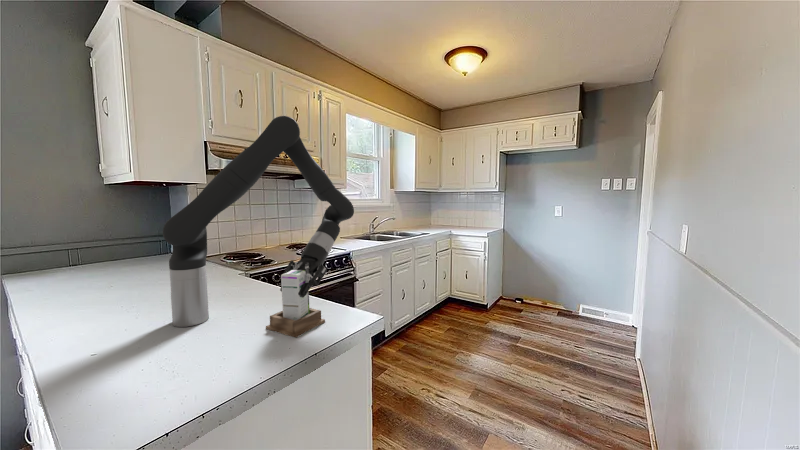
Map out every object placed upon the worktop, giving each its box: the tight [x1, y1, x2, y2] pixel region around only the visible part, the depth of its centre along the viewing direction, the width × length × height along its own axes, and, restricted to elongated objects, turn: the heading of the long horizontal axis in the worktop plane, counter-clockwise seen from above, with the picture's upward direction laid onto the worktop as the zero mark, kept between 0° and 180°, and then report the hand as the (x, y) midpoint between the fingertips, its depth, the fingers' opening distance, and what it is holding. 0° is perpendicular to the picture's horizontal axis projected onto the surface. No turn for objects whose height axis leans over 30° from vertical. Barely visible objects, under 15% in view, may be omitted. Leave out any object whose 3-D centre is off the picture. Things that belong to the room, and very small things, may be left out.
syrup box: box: [280, 270, 310, 321], centre depth 91 cm, size 6×6×14 cm
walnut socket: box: [265, 307, 326, 339], centre depth 92 cm, size 12×12×4 cm
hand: (291, 294), depth 90 cm, fingers closed on syrup box, 6 cm apart
